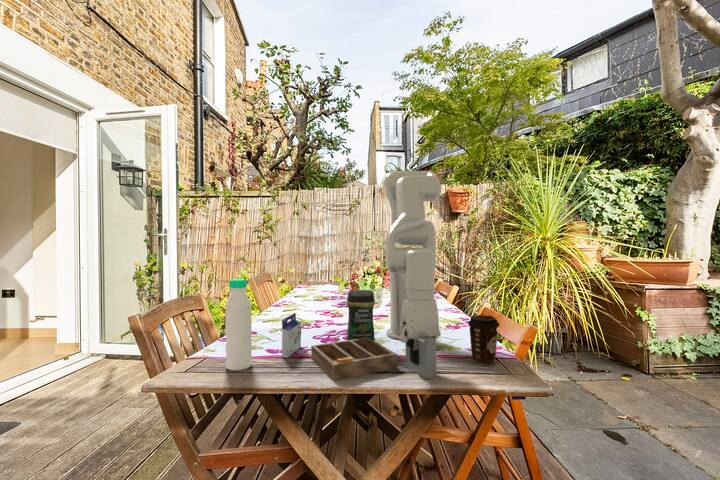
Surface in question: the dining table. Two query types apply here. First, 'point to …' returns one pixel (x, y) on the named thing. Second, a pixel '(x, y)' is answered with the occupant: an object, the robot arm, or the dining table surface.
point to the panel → (424, 357)
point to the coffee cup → (483, 339)
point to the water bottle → (238, 327)
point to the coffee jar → (360, 314)
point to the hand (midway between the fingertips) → (420, 361)
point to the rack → (363, 349)
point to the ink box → (290, 335)
